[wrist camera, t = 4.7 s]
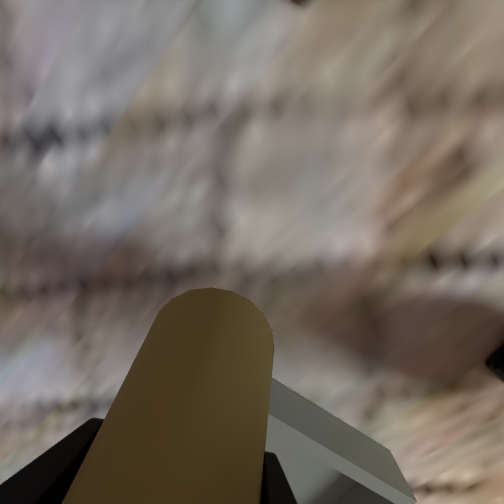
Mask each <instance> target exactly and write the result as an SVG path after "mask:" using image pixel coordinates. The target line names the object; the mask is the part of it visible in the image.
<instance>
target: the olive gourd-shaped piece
mask: <svg viewBox="0 0 504 504" xmlns="http://www.w3.org/2000/svg"><path fill="white" fill-rule="evenodd" d="M273 355H274V342H273V335H272V329H271V328H270V326H269V324H268V322H267V320H266V318H265V316H264V314H263V313H262V312H261V311H260V310H259V309H258V308H257V307H256V306H255V305H254V304H253V303H252V302H251V301H250V300H248V299H246V298H244V297H242V296H240V295H238V294H236V293H234V292H232V291H227V290H222V289H216V288H204V289H196V290H190V291H188V292H185V293H183V294H181V295H179V296H177V297H175V298H173V299H172V300H171V301H169V302H168V303H167V304H166V305H165V306H164V307H163V308H162V309H161V310H160V311H159V313H158V315H157V317H156V319H155V321H154V323H153V325H152V327H151V329H150V331H149V333H148V335H147V337H146V338H145V340H144V342H143V344H142V346H141V348H140V350H139V352H138V354H137V356H136V358H135V360H134V362H133V364H132V366H131V368H130V370H129V372H128V374H127V376H126V378H125V380H124V382H123V384H122V386H121V388H120V390H119V392H118V394H117V396H116V398H115V400H114V402H113V404H112V405H111V407H110V409H109V411H108V413H107V415H106V417H105V419H104V421H103V423H102V425H101V427H100V429H99V431H98V433H97V435H96V437H95V439H94V441H93V443H92V445H91V447H90V449H89V451H88V453H87V455H86V457H85V459H84V461H83V463H82V465H81V467H80V469H79V471H78V472H77V474H76V476H75V478H74V480H73V482H72V484H71V486H70V488H69V490H68V492H67V494H66V496H65V498H64V500H63V502H62V504H261V492H262V481H263V462H264V453H265V447H266V435H267V424H268V412H269V401H270V390H271V378H272V367H273Z"/></svg>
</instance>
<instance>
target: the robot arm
mask: <svg viewBox="0 0 504 504" xmlns="http://www.w3.org/2000/svg"><path fill="white" fill-rule="evenodd" d="M486 366H487V367H488V368H489V369H491V370H492V371H493V372H495V373H496V374H497V375H499V376H500V377H502V378H503V379H504V345H503V346H502V347H501V348H500V349H499V350H498V351H497V352H496V353H494V354H493V355H492V356H491V357H490V358H489V359H488V360H487V361H486ZM103 421H104V419H100V418H91V419H89V420H88V421H87V422H85V423H84V424H82V425H81V426H80V427H78V428H77V429H76V430H74V431H73V432H72V433H70V434H69V435H67V436H66V437H65V438H63V439H62V440H61V441H59V442H58V443H57V444H55V445H54V446H52V447H51V448H50V449H48V450H47V451H46V452H44V453H43V454H42V455H40V456H39V457H37V458H36V459H35V460H33V461H32V462H31V463H29V464H28V465H27V466H25V467H24V468H22V469H21V470H20V471H18V472H17V473H16V474H14V475H13V476H12V477H10V478H9V479H8V480H6V481H5V482H3V483H2V484H1V485H0V504H62V502H63V500H64V498H65V496H66V494H67V492H68V490H69V488H70V486H71V484H72V482H73V480H74V478H75V476H76V474H77V472H78V471H79V469H80V467H81V465H82V463H83V461H84V459H85V457H86V455H87V453H88V451H89V449H90V447H91V445H92V443H93V441H94V439H95V437H96V435H97V433H98V431H99V429H100V427H101V425H102V423H103ZM261 504H298V503H297V501H296V498H295V496H294V494H293V492H292V489H291V487H290V485H289V482H288V480H287V478H286V476H285V473H284V471H283V469H282V466H281V464H280V462H279V460H278V457H277V455H276V454H275V453H273V452H268V451H265V453H264V462H263V481H262V492H261Z"/></svg>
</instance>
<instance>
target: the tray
mask: <svg viewBox="0 0 504 504" xmlns="http://www.w3.org/2000/svg"><path fill="white" fill-rule="evenodd" d="M265 451H268V452H273V453H275V454H276V455H277V457H278V460H279V462H280V464H281V466H282V469H283V471H284V473H285V476H286V478H287V480H288V482H289V485H290V487H291V489H292V492H293V494H294V496H295V498H296V501H297V503H298V504H415V503H416V502H417V501H416V499H415V497H414V495H413V493H412V491H411V489H410V487H409V485H408V484H407V482H406V480H405V478H404V476H403V474H402V472H401V470H400V468H399V467H398V465H397V463H396V461H395V459H394V457H393V455H392V453H391V451H390V450H388V449H387V448H385V447H384V446H382V445H380V444H379V443H377V442H375V441H374V440H372V439H371V438H369V437H367V436H366V435H364V434H363V433H361V432H359V431H358V430H356V429H354V428H353V427H351V426H350V425H348V424H346V423H345V422H343V421H341V420H340V419H338V418H337V417H335V416H333V415H332V414H330V413H328V412H327V411H325V410H324V409H322V408H320V407H319V406H317V405H315V404H314V403H312V402H311V401H309V400H307V399H306V398H304V397H302V396H301V395H299V394H298V393H296V392H294V391H293V390H291V389H289V388H288V387H286V386H285V385H283V384H281V383H280V382H278V381H276V380H275V379H273V378H271V390H270V401H269V412H268V424H267V435H266V447H265Z"/></svg>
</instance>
